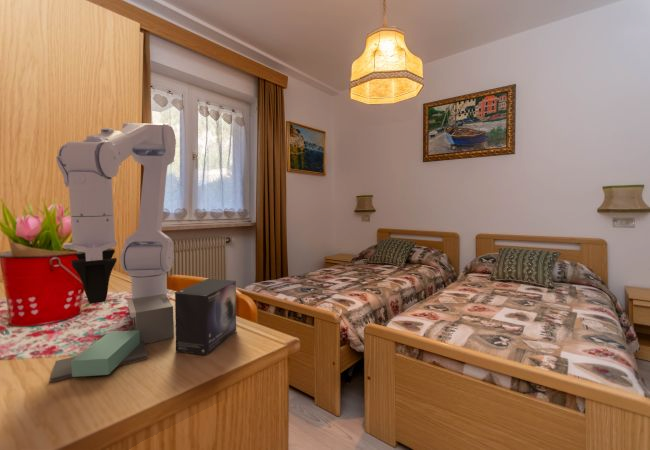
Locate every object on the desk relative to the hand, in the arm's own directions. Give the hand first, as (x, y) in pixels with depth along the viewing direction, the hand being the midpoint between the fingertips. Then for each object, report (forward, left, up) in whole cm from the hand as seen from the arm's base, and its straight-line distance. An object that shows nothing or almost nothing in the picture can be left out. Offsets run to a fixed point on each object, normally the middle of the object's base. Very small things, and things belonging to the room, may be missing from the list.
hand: (97, 296), depth 53 cm
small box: (+6, +16, -10) cm, 20 cm away
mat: (+4, 0, -10) cm, 11 cm away
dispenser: (-4, +8, -10) cm, 13 cm away
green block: (+4, -1, -8) cm, 9 cm away
